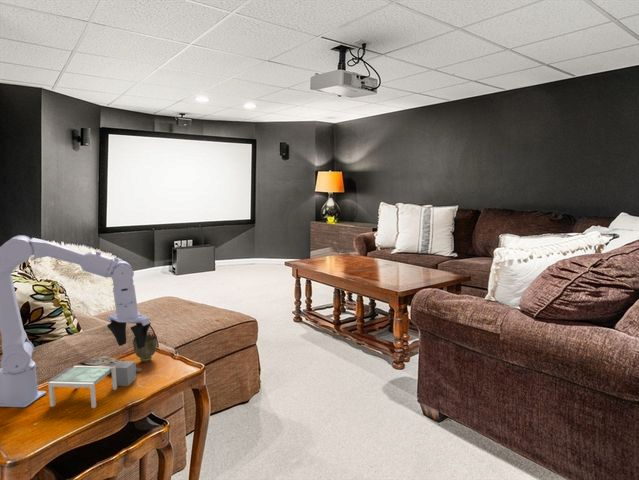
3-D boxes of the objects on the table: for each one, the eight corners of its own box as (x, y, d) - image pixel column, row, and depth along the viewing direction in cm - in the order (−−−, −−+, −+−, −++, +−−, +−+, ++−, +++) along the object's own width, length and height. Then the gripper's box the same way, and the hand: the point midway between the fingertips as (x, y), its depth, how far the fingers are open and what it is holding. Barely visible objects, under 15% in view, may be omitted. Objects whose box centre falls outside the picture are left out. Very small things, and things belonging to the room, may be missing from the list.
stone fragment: (126, 382, 126) (150, 368, 135) (126, 373, 125) (150, 359, 135) (64, 369, 134) (91, 356, 144) (64, 360, 134) (90, 348, 143)
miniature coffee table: (50, 406, 110) (48, 382, 109) (76, 387, 120) (74, 365, 120) (94, 407, 109) (92, 384, 108) (117, 388, 119) (115, 366, 119)
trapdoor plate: (48, 386, 110) (47, 380, 110) (69, 372, 119) (68, 367, 119) (93, 387, 109) (93, 382, 109) (111, 373, 118) (111, 368, 118)
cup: (138, 356, 142) (137, 333, 141) (161, 356, 142) (159, 333, 141) (130, 365, 135) (128, 341, 134) (153, 365, 135) (152, 341, 134)
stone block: (112, 385, 121) (111, 367, 121) (121, 378, 126) (120, 361, 125) (128, 386, 121) (127, 367, 120) (136, 378, 126) (135, 361, 125)
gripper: (154, 299, 124) (160, 343, 126) (118, 296, 130) (124, 338, 132) (136, 306, 118) (142, 352, 120) (99, 303, 123) (105, 347, 125)
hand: (131, 345), depth 125 cm, fingers open, 7 cm apart
